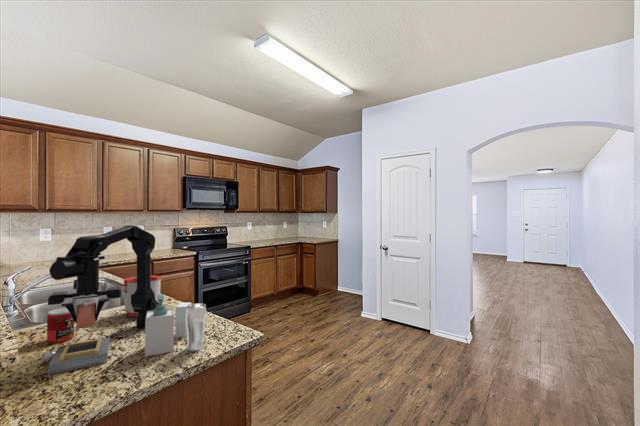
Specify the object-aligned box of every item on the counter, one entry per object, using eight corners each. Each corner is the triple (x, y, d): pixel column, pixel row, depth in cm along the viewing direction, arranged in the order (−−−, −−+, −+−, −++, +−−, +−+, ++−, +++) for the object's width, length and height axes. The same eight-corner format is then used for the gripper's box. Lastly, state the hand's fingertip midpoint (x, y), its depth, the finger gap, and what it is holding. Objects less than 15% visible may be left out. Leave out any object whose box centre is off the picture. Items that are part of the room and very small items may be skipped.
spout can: (96, 322, 101) (97, 297, 101) (94, 326, 96) (95, 300, 97) (77, 324, 98) (78, 298, 98) (75, 329, 94) (76, 302, 94)
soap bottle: (144, 357, 98) (145, 300, 98) (146, 346, 105) (147, 293, 106) (173, 352, 102) (174, 297, 102) (172, 342, 109) (174, 291, 110)
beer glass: (209, 345, 107) (210, 304, 108) (196, 353, 101) (196, 309, 101) (194, 342, 110) (195, 302, 110) (180, 350, 103) (181, 307, 103)
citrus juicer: (115, 313, 140) (116, 272, 141) (155, 306, 152) (156, 268, 152) (121, 322, 129) (122, 277, 129) (164, 314, 141) (165, 272, 141)
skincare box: (180, 331, 120) (181, 302, 120) (191, 331, 120) (191, 302, 120) (174, 337, 114) (175, 306, 114) (185, 337, 114) (186, 306, 114)
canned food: (58, 345, 106) (58, 314, 106) (40, 342, 107) (41, 312, 108) (79, 336, 113) (80, 308, 113) (62, 334, 115) (63, 306, 115)
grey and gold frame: (109, 346, 106) (110, 334, 106) (107, 362, 94) (107, 349, 94) (46, 357, 96) (46, 345, 96) (34, 377, 85) (35, 363, 85)
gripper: (122, 268, 110) (120, 310, 109) (56, 272, 99) (54, 318, 99) (121, 273, 100) (119, 319, 100) (48, 278, 90) (46, 329, 90)
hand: (86, 321), depth 97 cm, fingers closed on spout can, 5 cm apart
